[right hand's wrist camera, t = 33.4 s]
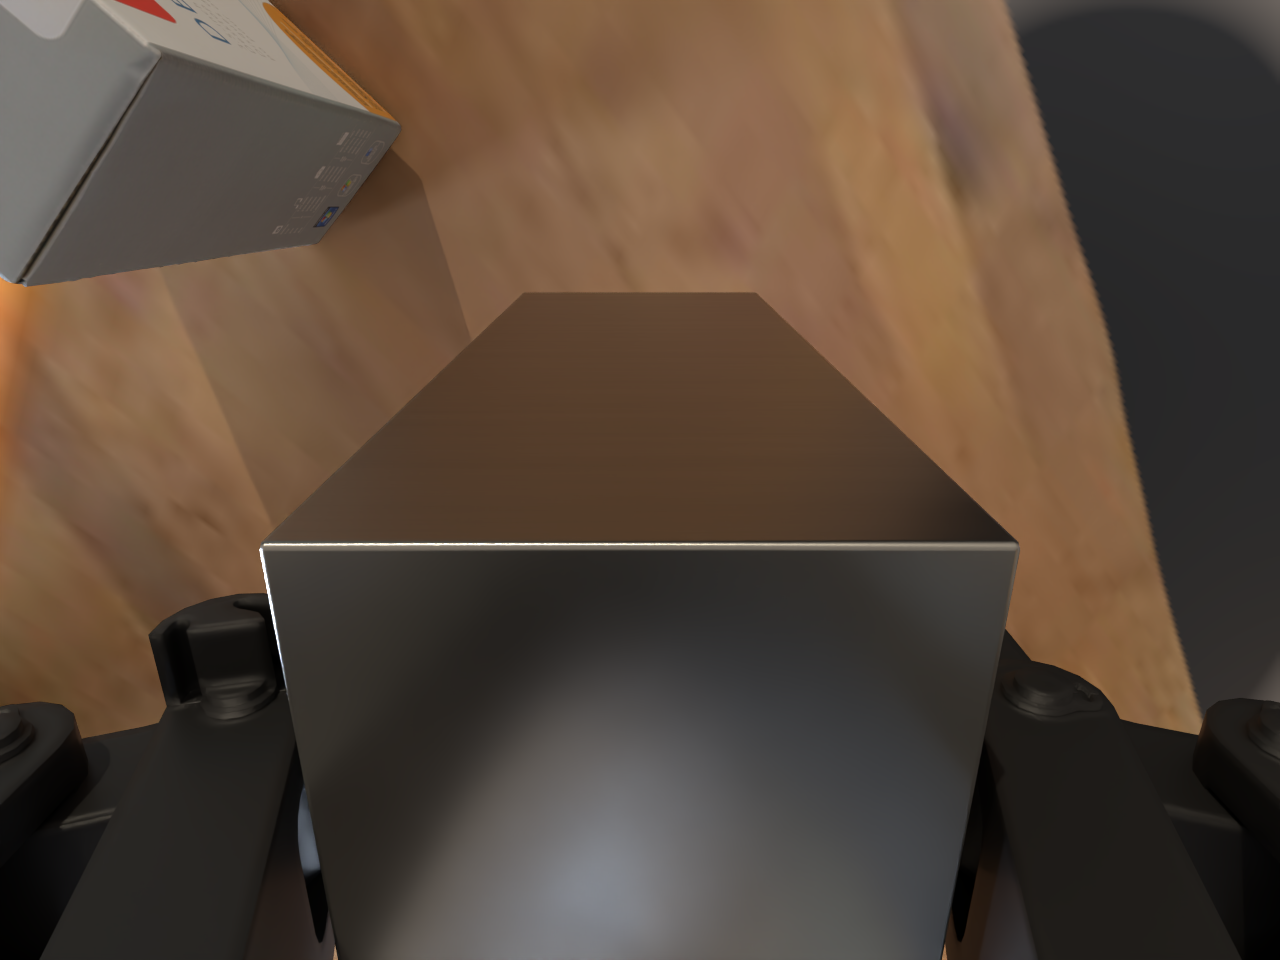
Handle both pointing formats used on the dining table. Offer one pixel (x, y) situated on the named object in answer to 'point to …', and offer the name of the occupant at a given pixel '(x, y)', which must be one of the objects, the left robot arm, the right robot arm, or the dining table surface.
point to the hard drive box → (170, 135)
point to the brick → (639, 651)
